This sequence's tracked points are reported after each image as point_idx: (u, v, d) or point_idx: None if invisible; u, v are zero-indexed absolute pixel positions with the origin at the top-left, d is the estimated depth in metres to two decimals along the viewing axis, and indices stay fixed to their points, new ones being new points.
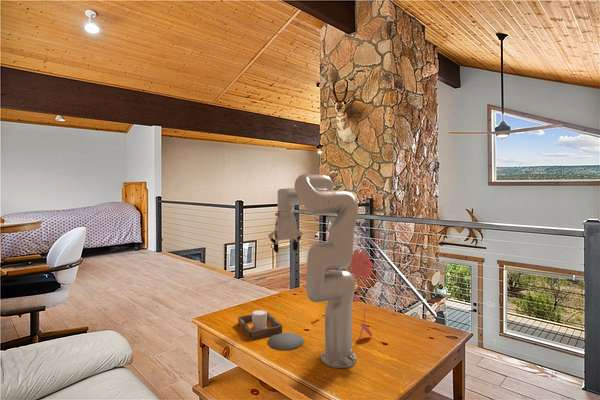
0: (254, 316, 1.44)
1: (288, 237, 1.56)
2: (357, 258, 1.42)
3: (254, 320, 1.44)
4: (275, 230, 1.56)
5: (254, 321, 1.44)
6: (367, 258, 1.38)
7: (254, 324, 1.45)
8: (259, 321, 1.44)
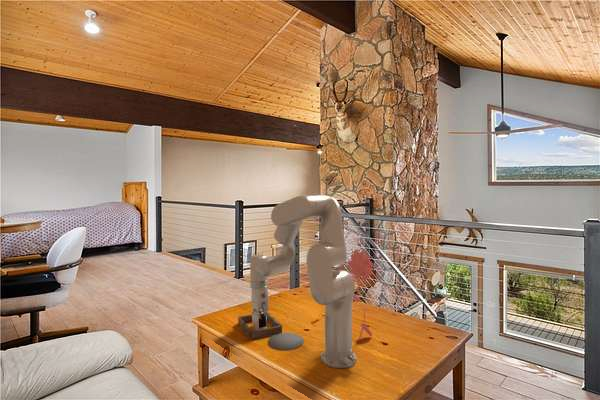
0: (254, 316, 1.44)
1: None
2: (357, 258, 1.42)
3: (254, 320, 1.44)
4: (262, 303, 1.42)
5: (254, 321, 1.44)
6: (367, 258, 1.38)
7: (254, 324, 1.45)
8: None
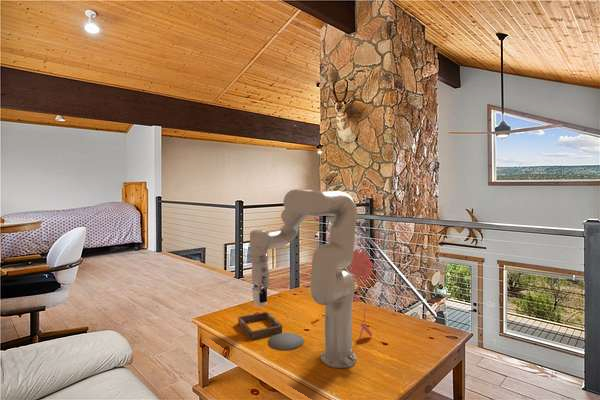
0: (255, 291, 1.43)
1: None
2: (357, 258, 1.42)
3: (255, 295, 1.43)
4: (263, 278, 1.41)
5: (255, 296, 1.44)
6: (367, 258, 1.38)
7: (255, 299, 1.44)
8: None
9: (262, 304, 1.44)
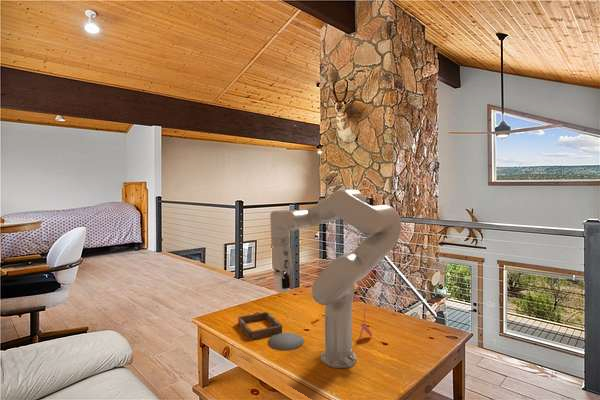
0: (276, 276, 1.32)
1: None
2: None
3: (276, 281, 1.32)
4: (285, 262, 1.30)
5: (276, 282, 1.32)
6: None
7: (277, 285, 1.33)
8: None
9: (284, 290, 1.32)
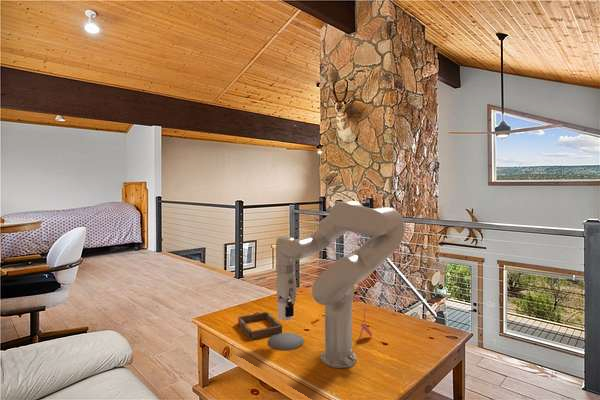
0: (280, 304, 1.31)
1: None
2: None
3: (280, 308, 1.31)
4: (290, 290, 1.29)
5: (280, 309, 1.31)
6: None
7: (280, 313, 1.31)
8: None
9: (288, 318, 1.31)
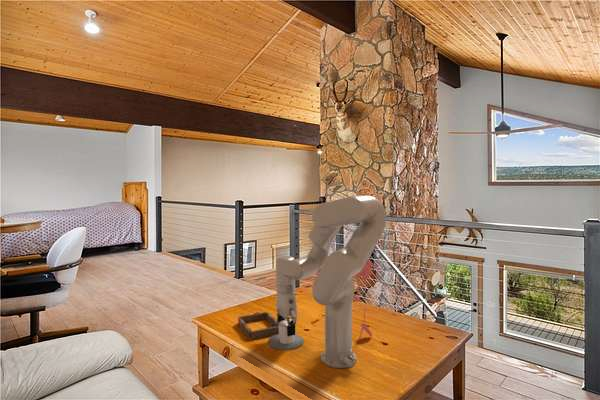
0: (281, 327, 1.31)
1: None
2: None
3: (281, 332, 1.31)
4: (290, 309, 1.29)
5: (281, 333, 1.31)
6: None
7: (281, 336, 1.32)
8: (286, 333, 1.31)
9: (289, 342, 1.31)
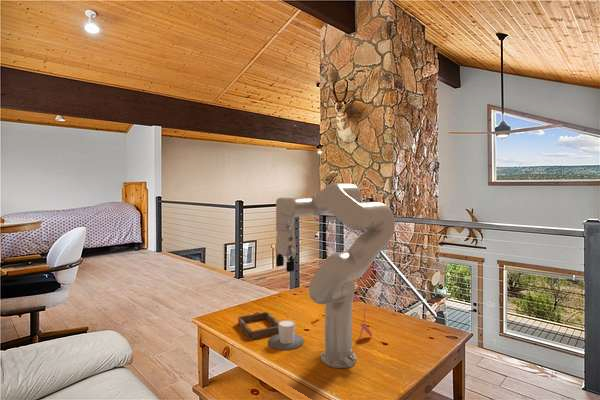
0: (281, 327, 1.31)
1: None
2: None
3: (281, 332, 1.31)
4: (290, 246, 1.35)
5: (281, 333, 1.31)
6: None
7: (281, 336, 1.32)
8: (286, 333, 1.31)
9: (289, 342, 1.31)
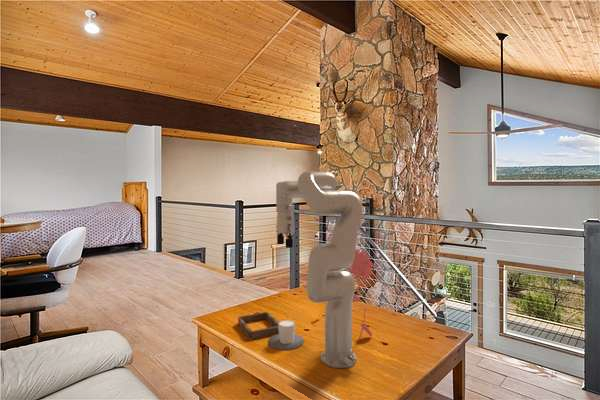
0: (281, 327, 1.31)
1: None
2: (357, 258, 1.42)
3: (281, 332, 1.31)
4: (288, 225, 1.50)
5: (281, 333, 1.31)
6: (367, 258, 1.38)
7: (281, 336, 1.32)
8: (286, 333, 1.31)
9: (289, 341, 1.31)
